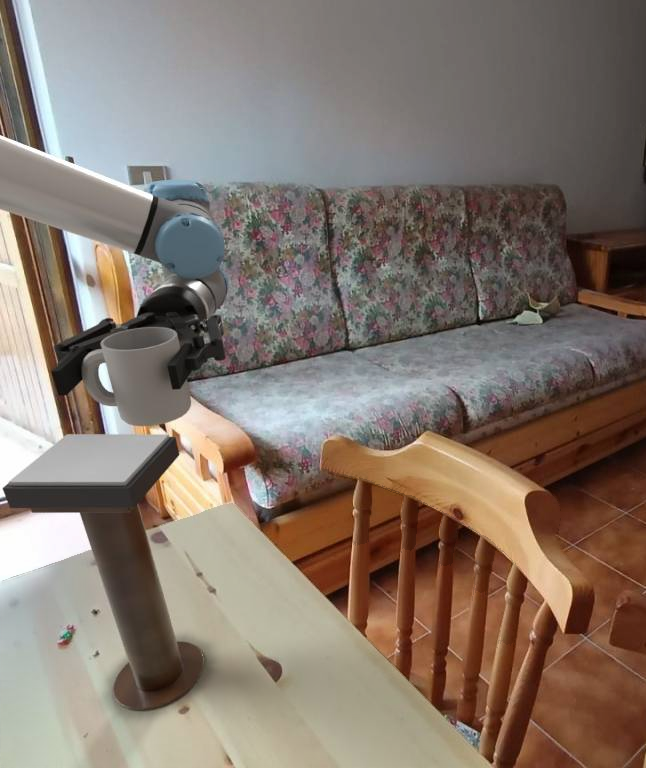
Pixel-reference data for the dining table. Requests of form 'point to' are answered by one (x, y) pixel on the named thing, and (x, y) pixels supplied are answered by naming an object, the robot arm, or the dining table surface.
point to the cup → (138, 376)
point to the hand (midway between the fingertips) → (117, 380)
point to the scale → (93, 471)
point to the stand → (138, 610)
